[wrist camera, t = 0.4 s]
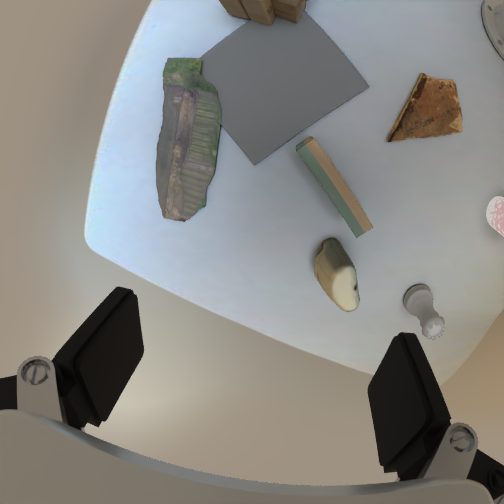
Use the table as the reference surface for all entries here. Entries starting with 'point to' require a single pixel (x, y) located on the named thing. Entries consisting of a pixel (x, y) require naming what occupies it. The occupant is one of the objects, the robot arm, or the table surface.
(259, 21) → the block tower
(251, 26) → the mat
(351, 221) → the plaque
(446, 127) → the shard
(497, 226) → the beverage cup
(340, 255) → the beige rounded chunk
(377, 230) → the table surface
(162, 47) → the table surface
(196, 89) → the mossy stone slab
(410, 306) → the rook chess piece
